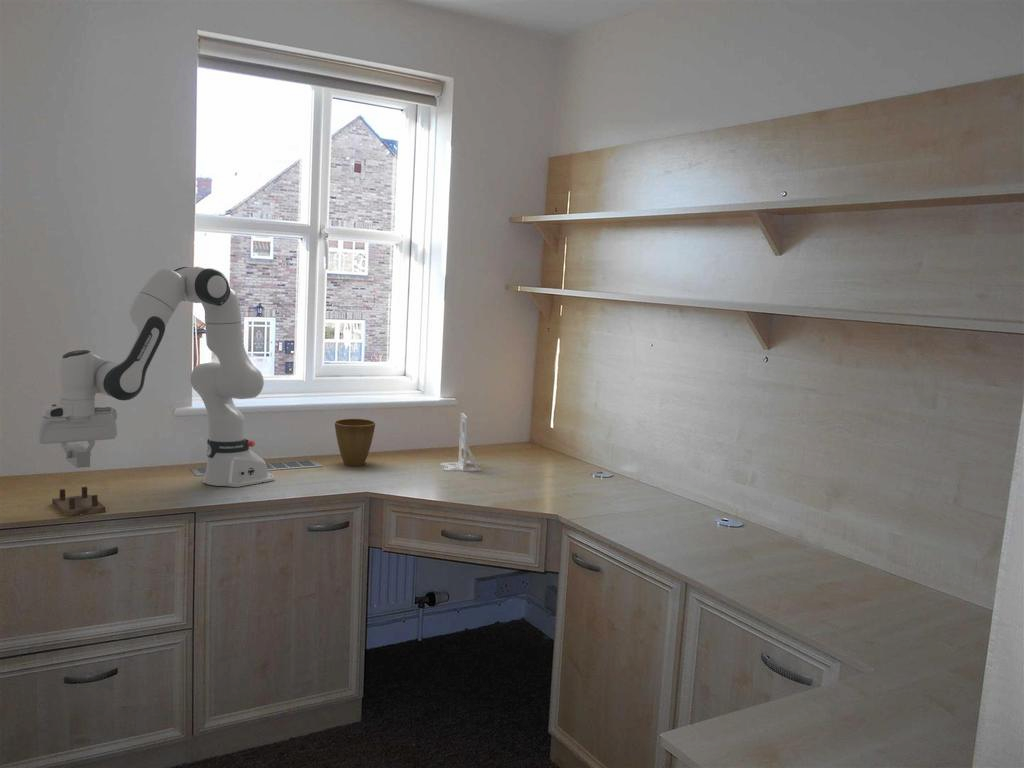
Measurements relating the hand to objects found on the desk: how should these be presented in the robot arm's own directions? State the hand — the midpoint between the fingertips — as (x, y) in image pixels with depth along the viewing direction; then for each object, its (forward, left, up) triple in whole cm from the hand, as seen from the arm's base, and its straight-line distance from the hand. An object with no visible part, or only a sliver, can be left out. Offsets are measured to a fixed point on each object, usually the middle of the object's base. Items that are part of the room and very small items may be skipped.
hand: (77, 456), depth 236 cm
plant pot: (-97, -15, -15) cm, 99 cm away
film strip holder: (-129, +8, -15) cm, 130 cm away
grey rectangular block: (0, 0, -2) cm, 2 cm away
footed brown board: (0, 0, -15) cm, 15 cm away
